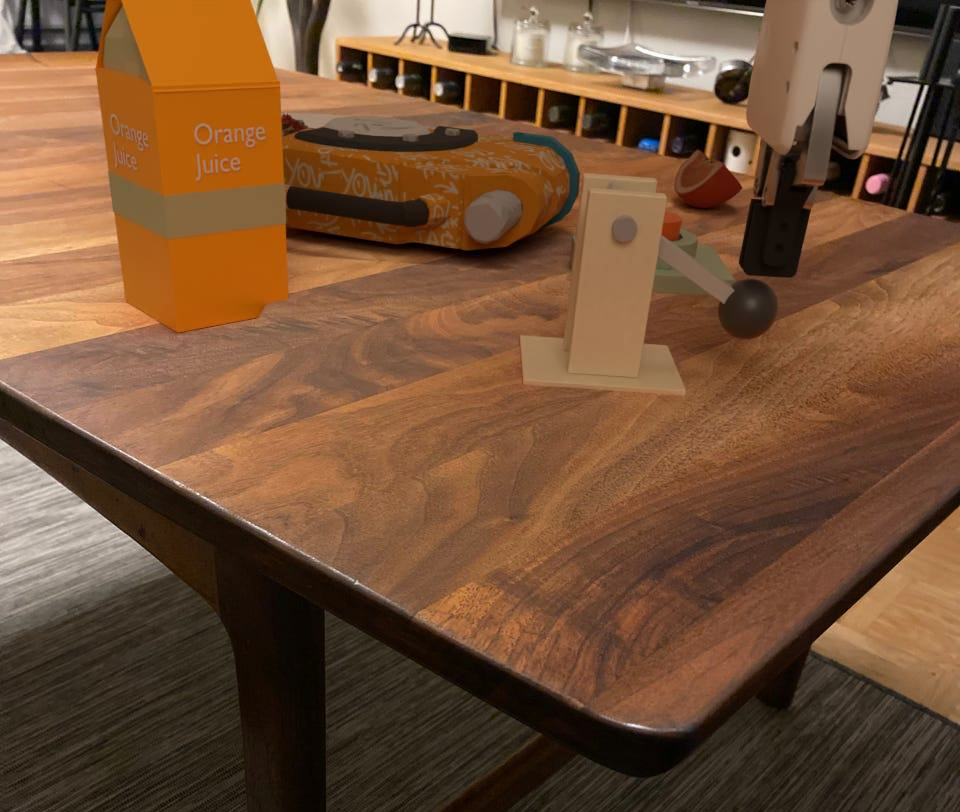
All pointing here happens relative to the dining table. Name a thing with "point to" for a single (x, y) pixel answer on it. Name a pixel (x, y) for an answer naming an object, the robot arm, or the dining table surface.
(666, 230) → the button
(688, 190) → the broken clay pot piece
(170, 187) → the orange juice
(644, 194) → the lever stand
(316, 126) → the plated food
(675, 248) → the lever
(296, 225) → the orange patterned backpack
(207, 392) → the dining table surface
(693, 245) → the button housing
